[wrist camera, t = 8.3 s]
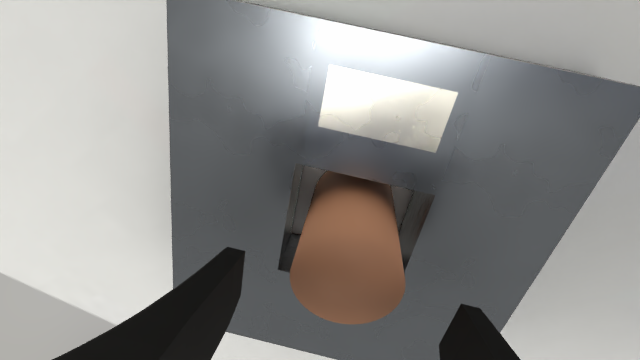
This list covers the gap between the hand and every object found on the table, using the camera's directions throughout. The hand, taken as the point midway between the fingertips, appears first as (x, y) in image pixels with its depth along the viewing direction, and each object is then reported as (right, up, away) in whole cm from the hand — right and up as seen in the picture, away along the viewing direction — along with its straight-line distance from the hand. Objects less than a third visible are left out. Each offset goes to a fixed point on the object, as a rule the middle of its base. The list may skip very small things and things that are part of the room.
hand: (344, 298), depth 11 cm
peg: (+1, +3, +6) cm, 7 cm away
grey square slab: (+1, +3, +6) cm, 7 cm away
